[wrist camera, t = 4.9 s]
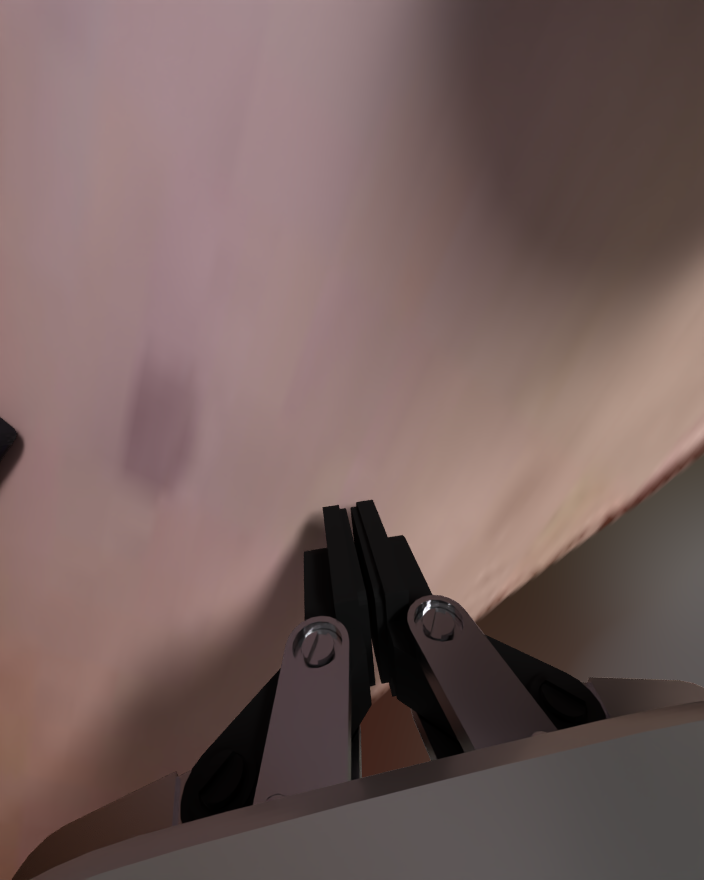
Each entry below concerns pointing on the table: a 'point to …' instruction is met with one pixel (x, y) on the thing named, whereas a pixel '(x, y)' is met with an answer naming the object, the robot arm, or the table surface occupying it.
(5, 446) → the picture frame
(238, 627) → the table surface
